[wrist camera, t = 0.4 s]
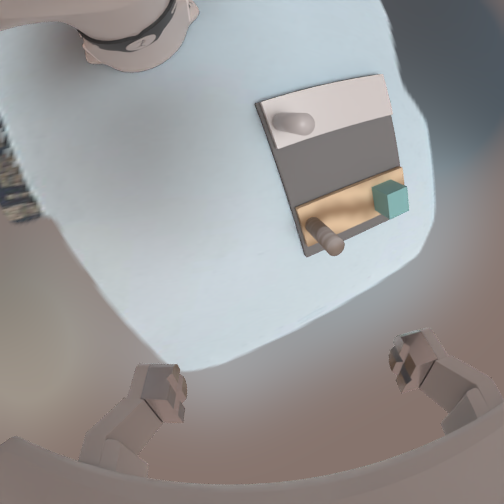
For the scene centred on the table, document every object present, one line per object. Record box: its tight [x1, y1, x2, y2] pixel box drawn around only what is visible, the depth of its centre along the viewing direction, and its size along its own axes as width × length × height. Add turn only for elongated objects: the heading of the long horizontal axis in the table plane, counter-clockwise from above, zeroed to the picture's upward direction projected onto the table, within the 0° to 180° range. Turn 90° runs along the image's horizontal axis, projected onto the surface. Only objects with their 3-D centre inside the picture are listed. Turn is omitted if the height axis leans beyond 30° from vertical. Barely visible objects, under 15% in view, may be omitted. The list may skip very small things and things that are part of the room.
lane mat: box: [255, 74, 400, 257], centre depth 46 cm, size 30×25×1 cm
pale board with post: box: [260, 74, 393, 149], centre depth 36 cm, size 8×24×10 cm, turn 110°
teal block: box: [371, 179, 409, 219], centre depth 47 cm, size 5×5×5 cm
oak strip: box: [295, 166, 404, 256], centre depth 45 cm, size 8×24×10 cm, turn 110°
